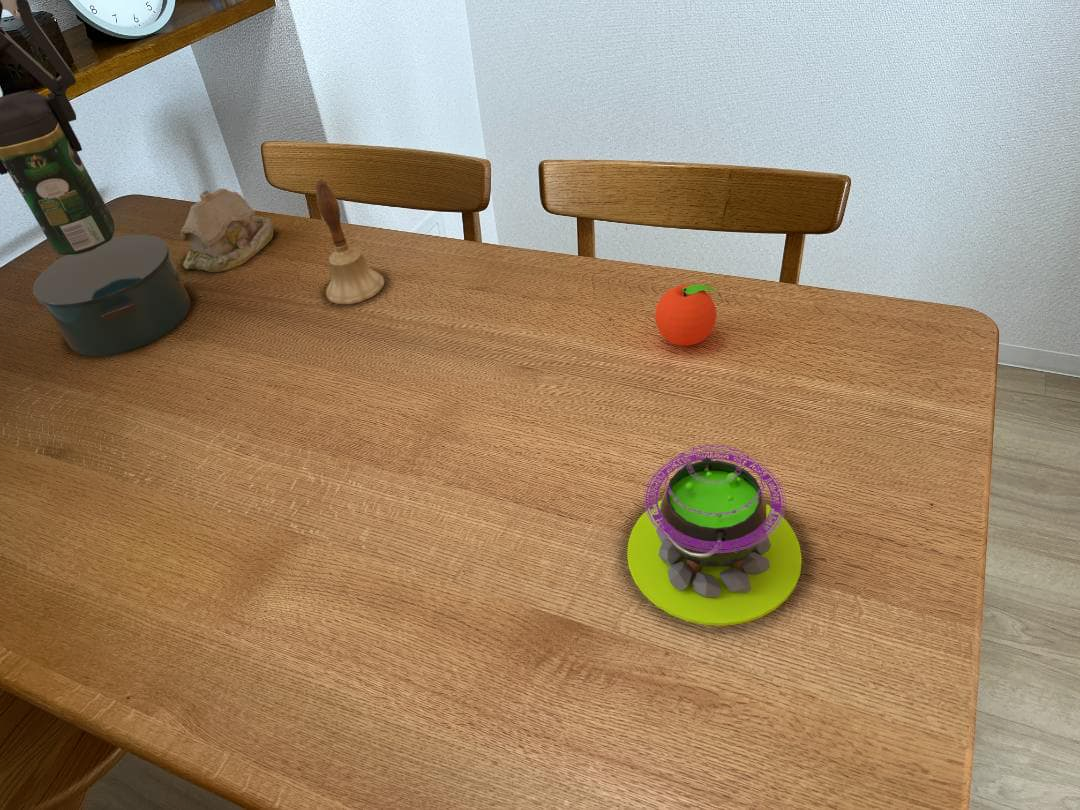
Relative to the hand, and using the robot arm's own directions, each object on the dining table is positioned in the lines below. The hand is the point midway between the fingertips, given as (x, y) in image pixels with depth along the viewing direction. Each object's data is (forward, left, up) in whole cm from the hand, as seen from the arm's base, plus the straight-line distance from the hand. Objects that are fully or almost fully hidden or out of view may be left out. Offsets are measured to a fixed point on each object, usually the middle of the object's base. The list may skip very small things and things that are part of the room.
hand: (41, 158), depth 99 cm
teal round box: (0, 0, -24) cm, 24 cm away
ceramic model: (+17, +10, -24) cm, 31 cm away
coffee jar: (0, 0, -11) cm, 11 cm away
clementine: (+57, -54, -24) cm, 82 cm away
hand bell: (+29, -15, -24) cm, 41 cm away
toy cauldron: (+39, -80, -24) cm, 92 cm away
